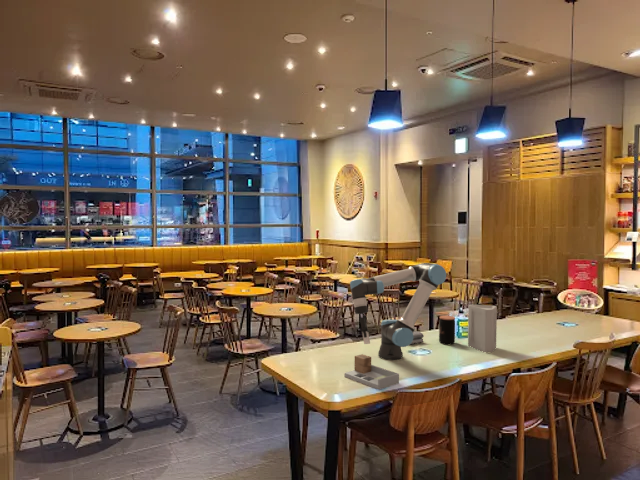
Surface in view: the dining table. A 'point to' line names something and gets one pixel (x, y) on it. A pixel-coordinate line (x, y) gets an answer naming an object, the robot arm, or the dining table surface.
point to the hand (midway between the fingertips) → (367, 343)
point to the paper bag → (482, 327)
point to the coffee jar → (447, 329)
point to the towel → (417, 337)
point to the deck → (375, 377)
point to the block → (362, 363)
